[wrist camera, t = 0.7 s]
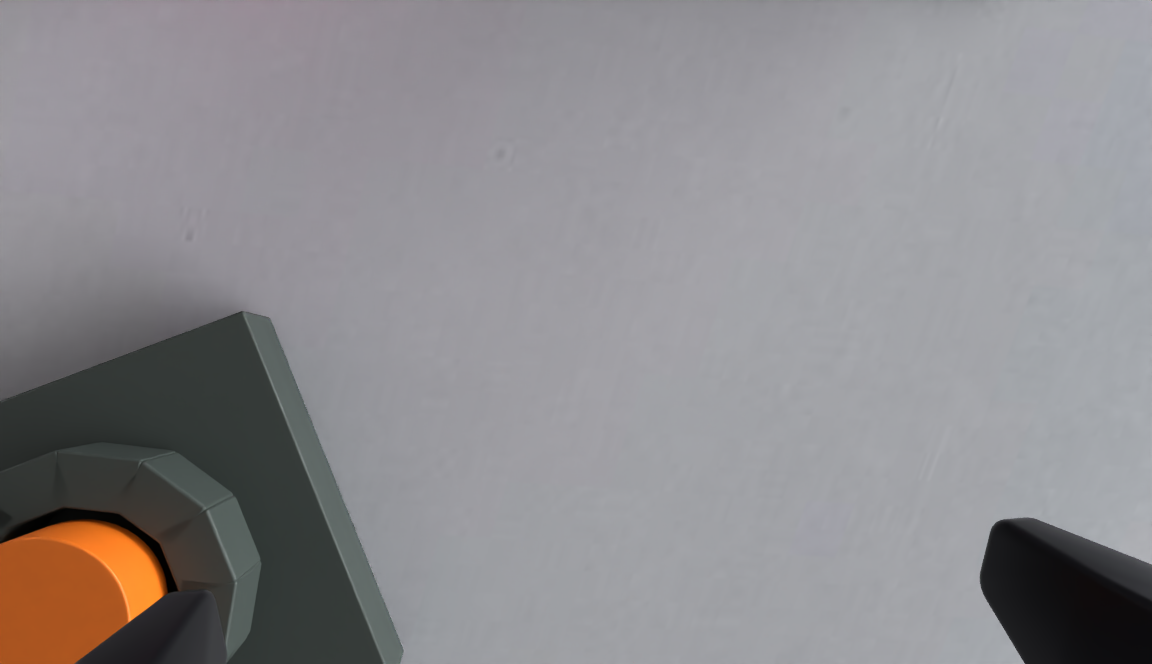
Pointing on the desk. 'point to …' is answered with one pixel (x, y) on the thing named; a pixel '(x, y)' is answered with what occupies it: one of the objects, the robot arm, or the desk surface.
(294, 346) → the desk surface
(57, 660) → the button
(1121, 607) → the robot arm
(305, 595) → the button box
